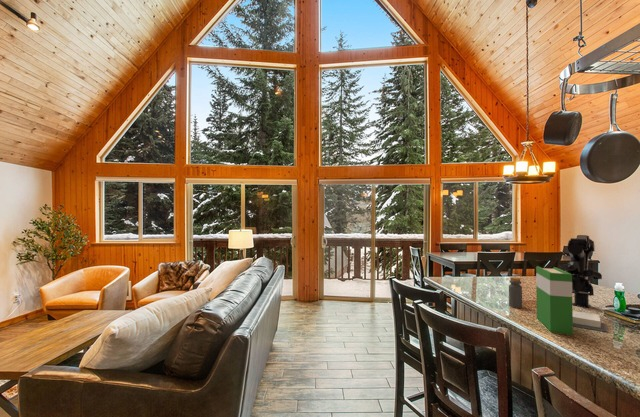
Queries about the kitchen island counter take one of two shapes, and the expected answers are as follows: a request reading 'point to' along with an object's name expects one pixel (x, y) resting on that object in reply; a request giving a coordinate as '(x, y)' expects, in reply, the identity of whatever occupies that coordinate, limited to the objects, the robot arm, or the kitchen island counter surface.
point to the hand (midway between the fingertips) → (576, 292)
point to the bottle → (515, 292)
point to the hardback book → (554, 300)
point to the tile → (586, 319)
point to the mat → (603, 327)
